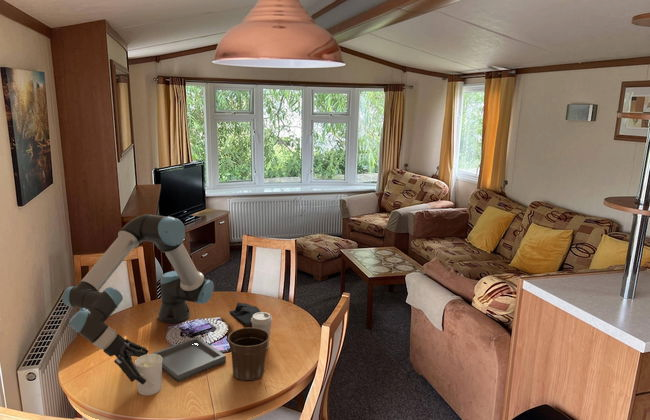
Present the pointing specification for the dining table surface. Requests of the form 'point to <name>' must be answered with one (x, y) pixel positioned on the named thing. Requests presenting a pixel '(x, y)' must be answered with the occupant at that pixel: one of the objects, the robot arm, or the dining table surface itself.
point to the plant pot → (248, 352)
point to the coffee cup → (262, 322)
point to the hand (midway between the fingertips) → (155, 376)
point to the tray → (189, 358)
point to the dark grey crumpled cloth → (245, 312)
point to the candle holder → (150, 372)
